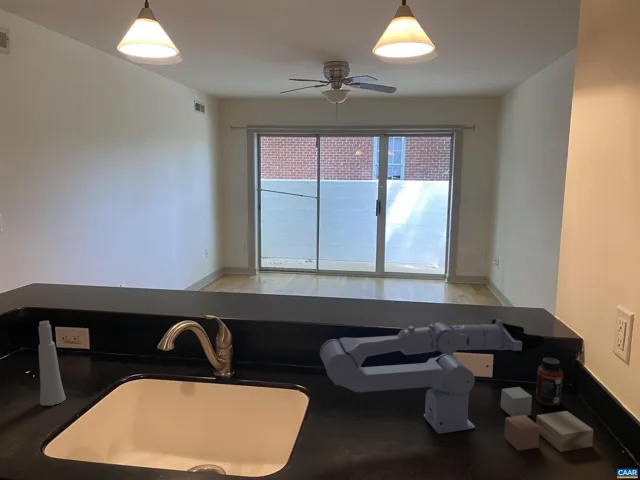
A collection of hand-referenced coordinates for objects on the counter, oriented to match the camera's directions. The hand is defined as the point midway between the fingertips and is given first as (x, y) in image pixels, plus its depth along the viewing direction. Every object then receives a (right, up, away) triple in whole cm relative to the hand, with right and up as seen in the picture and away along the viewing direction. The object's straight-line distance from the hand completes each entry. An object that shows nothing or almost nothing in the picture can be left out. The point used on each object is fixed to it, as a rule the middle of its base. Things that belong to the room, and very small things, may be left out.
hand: (532, 336), depth 113 cm
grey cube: (-2, -20, +5) cm, 21 cm away
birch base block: (+4, -22, -7) cm, 23 cm away
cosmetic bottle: (-121, -20, +12) cm, 124 cm away
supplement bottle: (+8, -19, +10) cm, 23 cm away
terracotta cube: (-6, -22, -8) cm, 24 cm away
